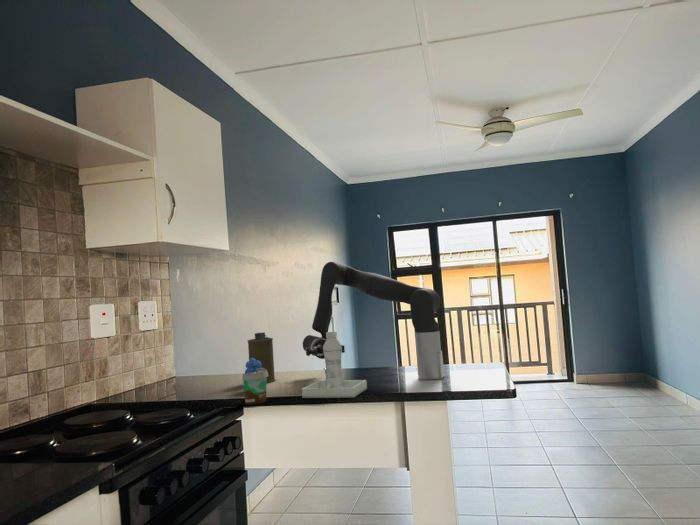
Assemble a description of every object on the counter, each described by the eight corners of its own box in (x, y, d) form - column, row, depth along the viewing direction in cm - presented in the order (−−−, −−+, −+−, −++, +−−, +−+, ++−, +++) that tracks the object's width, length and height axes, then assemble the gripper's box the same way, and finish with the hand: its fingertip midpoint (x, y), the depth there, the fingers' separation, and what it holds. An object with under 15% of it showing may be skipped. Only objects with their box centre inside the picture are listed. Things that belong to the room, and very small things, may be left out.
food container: (261, 405, 163) (260, 373, 164) (243, 405, 164) (241, 374, 165) (275, 397, 175) (273, 367, 176) (258, 397, 176) (256, 368, 177)
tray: (367, 388, 179) (366, 379, 179) (353, 397, 165) (353, 388, 165) (319, 389, 185) (318, 380, 185) (302, 397, 170) (301, 388, 171)
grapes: (237, 391, 192) (235, 359, 193) (252, 388, 197) (250, 356, 198) (256, 393, 184) (254, 360, 185) (271, 390, 189) (269, 357, 190)
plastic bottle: (348, 390, 174) (344, 331, 175) (331, 394, 170) (327, 333, 172) (338, 388, 179) (335, 331, 181) (322, 391, 176) (318, 333, 177)
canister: (267, 383, 205) (265, 333, 206) (244, 384, 208) (242, 334, 209) (280, 379, 215) (277, 331, 216) (258, 379, 218) (255, 332, 220)
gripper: (302, 339, 200) (307, 343, 184) (338, 336, 203) (346, 339, 187) (303, 359, 200) (309, 364, 184) (339, 356, 203) (348, 360, 187)
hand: (328, 351), depth 186 cm, fingers open, 8 cm apart
